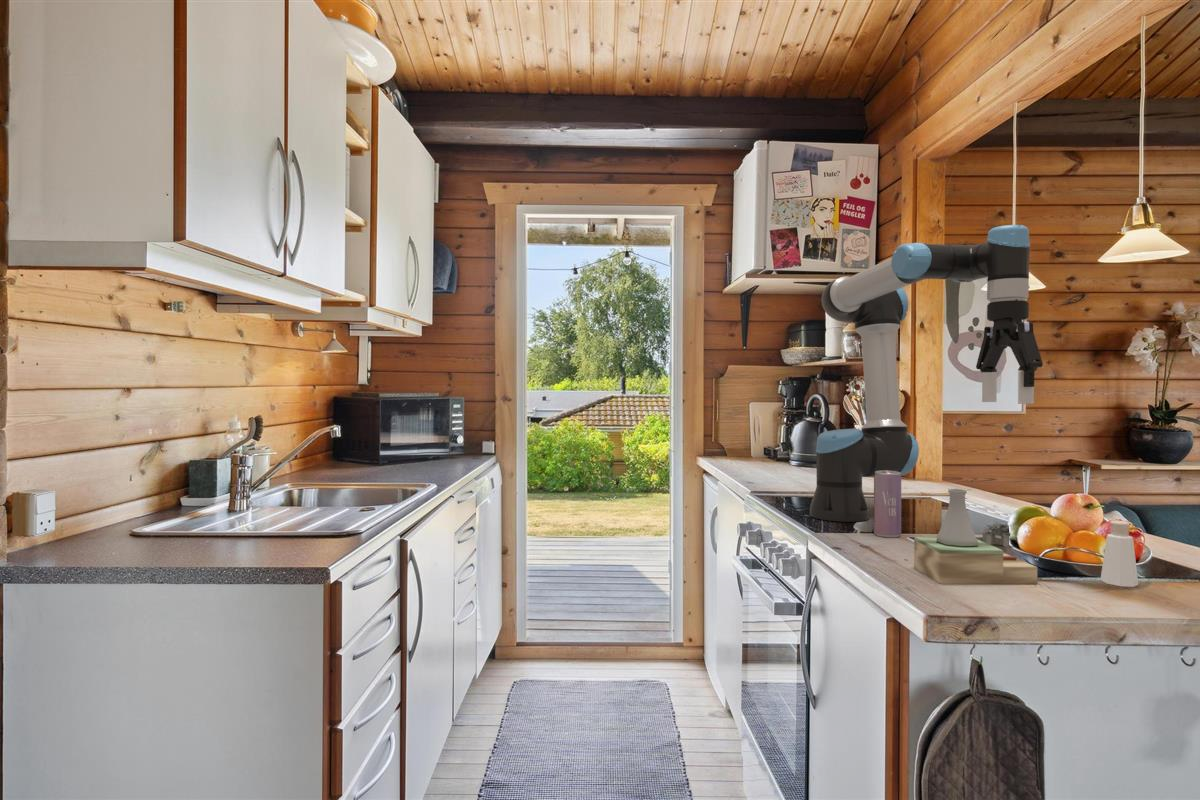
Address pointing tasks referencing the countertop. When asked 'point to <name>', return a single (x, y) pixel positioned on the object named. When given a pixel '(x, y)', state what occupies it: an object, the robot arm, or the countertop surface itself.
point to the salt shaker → (1119, 557)
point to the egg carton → (996, 534)
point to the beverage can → (887, 504)
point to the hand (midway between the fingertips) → (1006, 403)
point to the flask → (957, 522)
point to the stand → (970, 564)
